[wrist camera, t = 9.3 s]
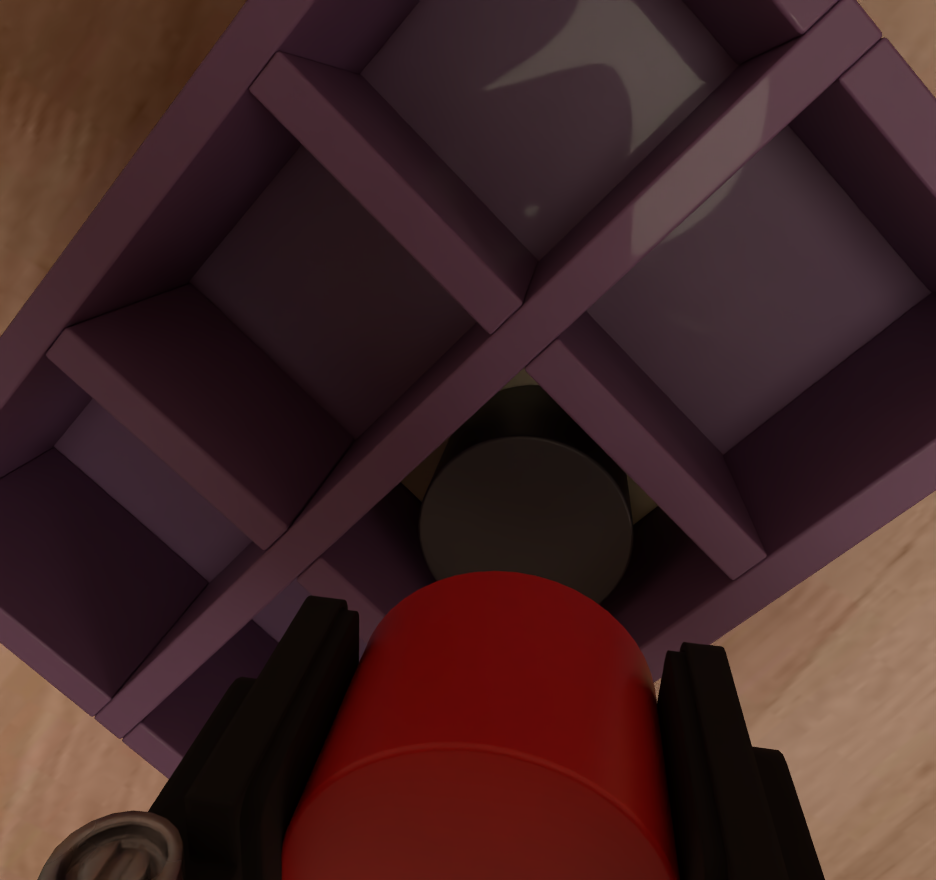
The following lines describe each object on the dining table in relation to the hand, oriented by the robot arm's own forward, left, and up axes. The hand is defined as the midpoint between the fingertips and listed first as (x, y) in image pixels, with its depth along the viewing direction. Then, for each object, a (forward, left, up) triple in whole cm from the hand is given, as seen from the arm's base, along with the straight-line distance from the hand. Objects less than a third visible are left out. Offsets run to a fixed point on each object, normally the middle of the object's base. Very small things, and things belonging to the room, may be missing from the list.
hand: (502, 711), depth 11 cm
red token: (0, 0, 0) cm, 0 cm away
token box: (-2, -2, -9) cm, 10 cm away
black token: (0, 0, -9) cm, 9 cm away
